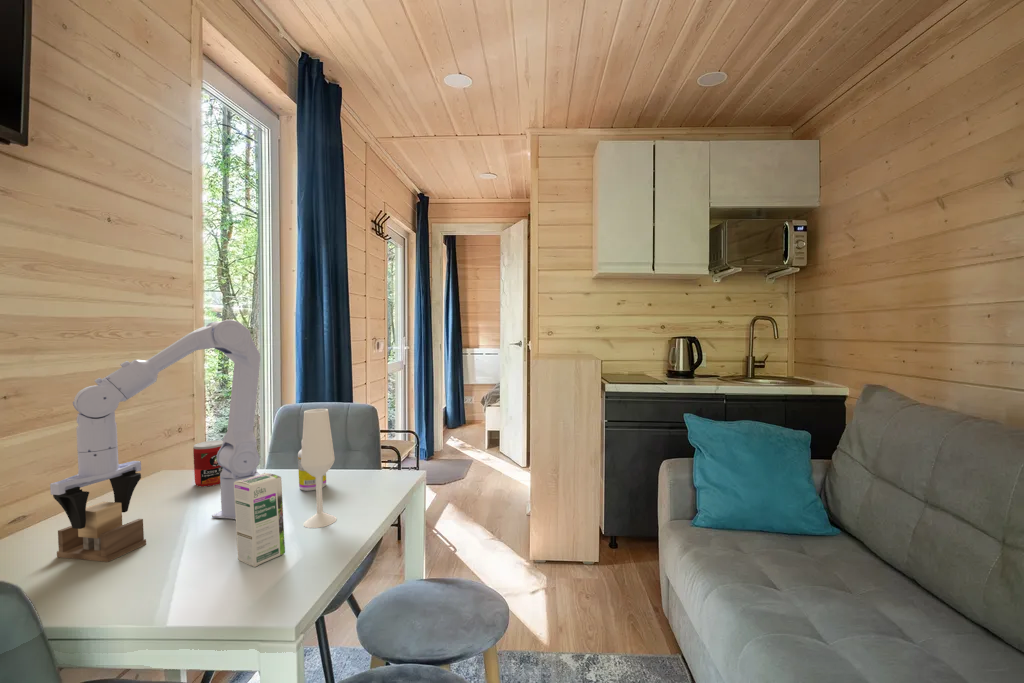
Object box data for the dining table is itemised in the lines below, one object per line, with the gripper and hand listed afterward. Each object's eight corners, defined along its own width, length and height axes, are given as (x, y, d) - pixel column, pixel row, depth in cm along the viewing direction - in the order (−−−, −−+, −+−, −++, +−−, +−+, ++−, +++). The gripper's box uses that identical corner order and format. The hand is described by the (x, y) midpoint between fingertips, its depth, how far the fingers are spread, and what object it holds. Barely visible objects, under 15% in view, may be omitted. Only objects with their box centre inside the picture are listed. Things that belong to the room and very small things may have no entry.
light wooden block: (122, 528, 90) (121, 502, 90) (97, 538, 85) (96, 511, 85) (104, 526, 91) (103, 501, 90) (78, 536, 86) (77, 510, 86)
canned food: (201, 489, 123) (199, 448, 123) (190, 483, 128) (188, 444, 128) (232, 481, 129) (230, 442, 129) (220, 476, 134) (219, 438, 134)
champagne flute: (340, 522, 98) (336, 410, 98) (305, 530, 94) (301, 414, 94) (333, 512, 104) (329, 406, 103) (300, 520, 100) (296, 410, 100)
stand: (146, 544, 90) (145, 519, 90) (108, 561, 83) (106, 534, 83) (97, 540, 93) (96, 515, 93) (56, 557, 86) (55, 530, 86)
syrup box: (254, 568, 80) (251, 485, 79) (236, 560, 83) (233, 479, 82) (285, 554, 84) (282, 475, 84) (267, 547, 88) (264, 471, 87)
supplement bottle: (317, 481, 127) (315, 435, 126) (331, 485, 123) (329, 438, 122) (294, 488, 121) (292, 440, 121) (307, 493, 117) (306, 443, 117)
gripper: (120, 439, 96) (123, 504, 96) (35, 458, 81) (39, 534, 82) (148, 440, 94) (151, 505, 94) (66, 459, 80) (70, 537, 80)
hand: (101, 519), depth 88 cm, fingers open, 7 cm apart
